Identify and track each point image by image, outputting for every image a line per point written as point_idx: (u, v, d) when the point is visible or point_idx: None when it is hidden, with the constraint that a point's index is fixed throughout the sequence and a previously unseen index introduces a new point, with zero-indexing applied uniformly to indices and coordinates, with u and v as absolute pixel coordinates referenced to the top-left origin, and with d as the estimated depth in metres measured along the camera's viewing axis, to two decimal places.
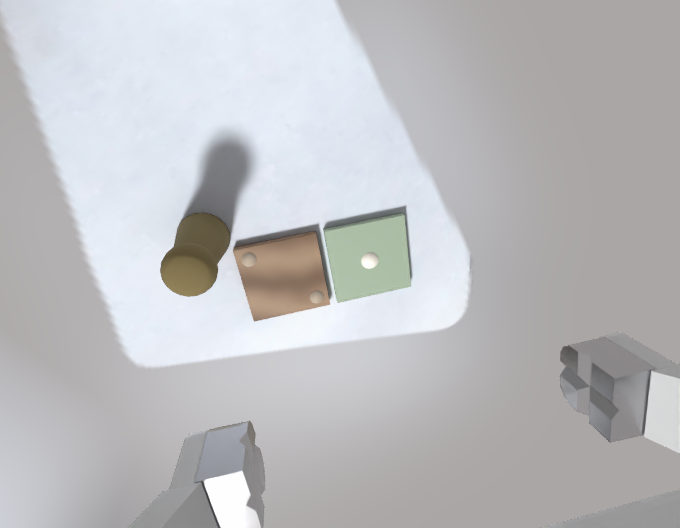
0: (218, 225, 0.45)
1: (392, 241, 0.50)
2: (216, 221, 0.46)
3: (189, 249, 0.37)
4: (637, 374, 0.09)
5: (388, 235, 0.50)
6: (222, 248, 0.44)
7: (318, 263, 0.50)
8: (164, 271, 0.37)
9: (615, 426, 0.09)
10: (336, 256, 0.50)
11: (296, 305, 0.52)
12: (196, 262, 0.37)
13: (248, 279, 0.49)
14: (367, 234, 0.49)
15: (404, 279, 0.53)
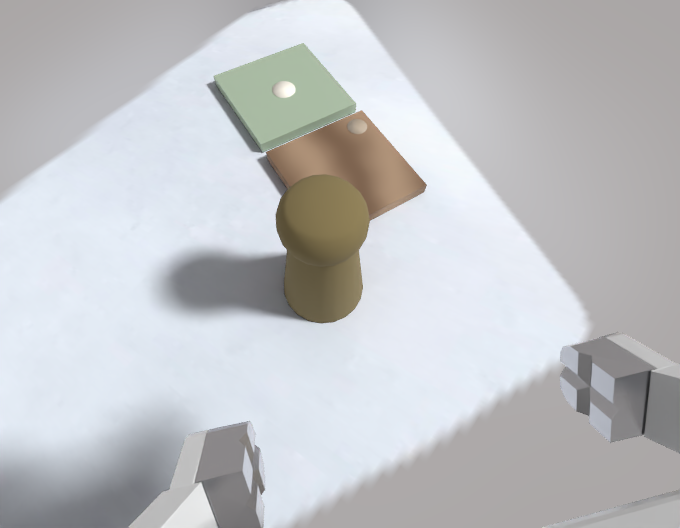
0: None
1: (250, 76, 0.39)
2: None
3: (277, 220, 0.21)
4: (637, 374, 0.09)
5: (244, 82, 0.39)
6: None
7: (307, 138, 0.36)
8: (325, 239, 0.20)
9: (615, 425, 0.09)
10: (290, 122, 0.37)
11: (379, 144, 0.36)
12: (291, 197, 0.21)
13: None
14: (249, 101, 0.38)
15: (296, 51, 0.41)
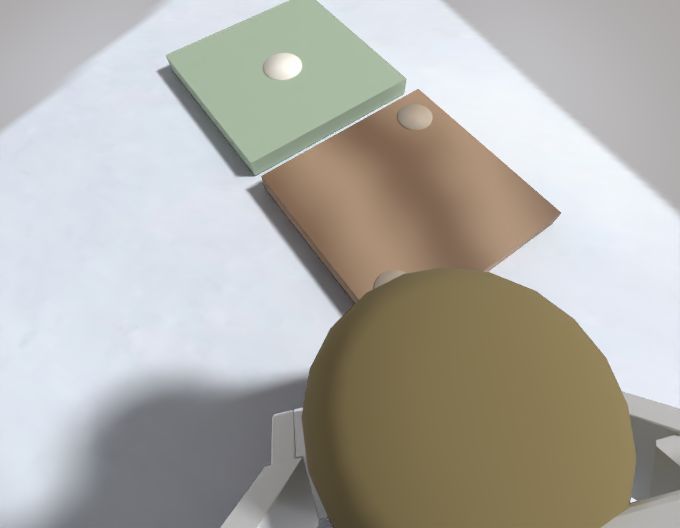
0: None
1: (226, 50, 0.24)
2: None
3: (311, 459, 0.06)
4: None
5: (216, 61, 0.23)
6: None
7: (331, 144, 0.20)
8: None
9: None
10: (299, 120, 0.21)
11: (459, 145, 0.20)
12: (357, 382, 0.06)
13: None
14: (226, 91, 0.22)
15: (297, 6, 0.25)
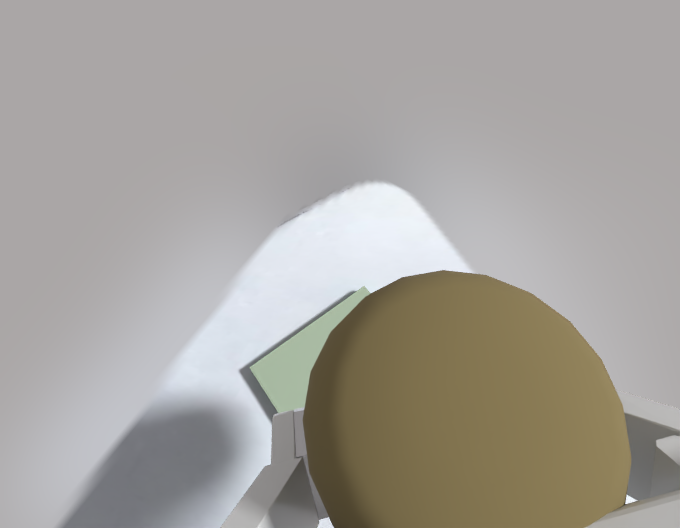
0: None
1: (301, 361, 0.28)
2: None
3: (313, 461, 0.06)
4: None
5: (293, 375, 0.27)
6: None
7: None
8: None
9: None
10: None
11: None
12: (356, 384, 0.06)
13: None
14: None
15: (357, 303, 0.29)
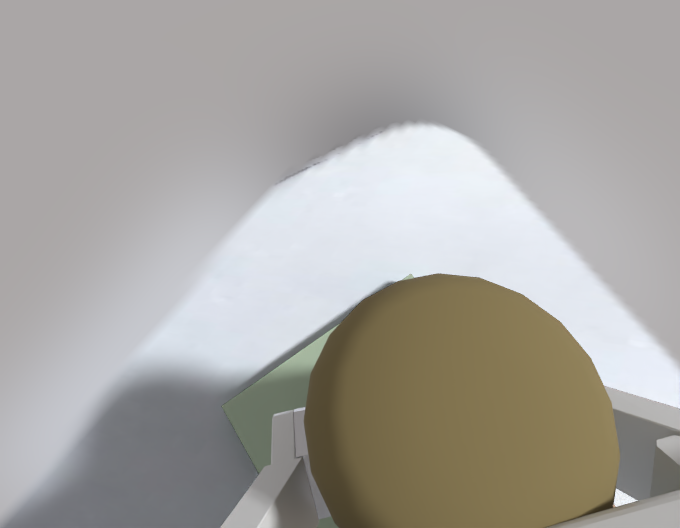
0: None
1: None
2: None
3: (313, 460, 0.06)
4: None
5: None
6: None
7: None
8: None
9: None
10: None
11: None
12: (355, 386, 0.06)
13: None
14: None
15: None
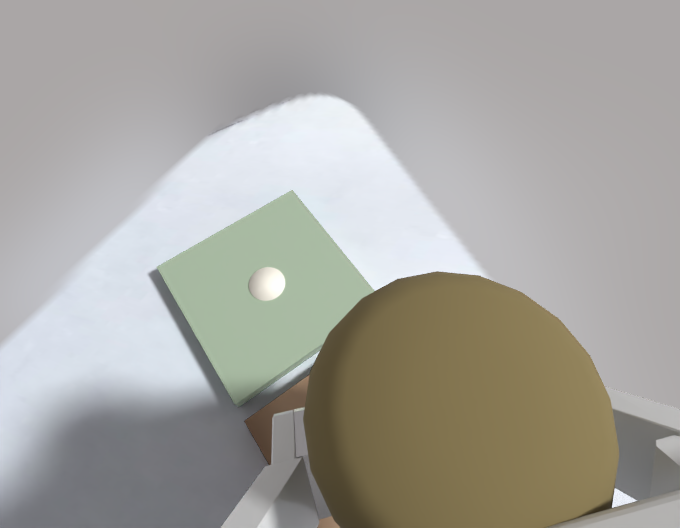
0: None
1: (214, 262, 0.25)
2: None
3: (313, 458, 0.06)
4: None
5: (204, 275, 0.25)
6: None
7: None
8: None
9: None
10: (281, 352, 0.23)
11: None
12: (355, 384, 0.06)
13: None
14: (213, 313, 0.24)
15: (282, 206, 0.27)
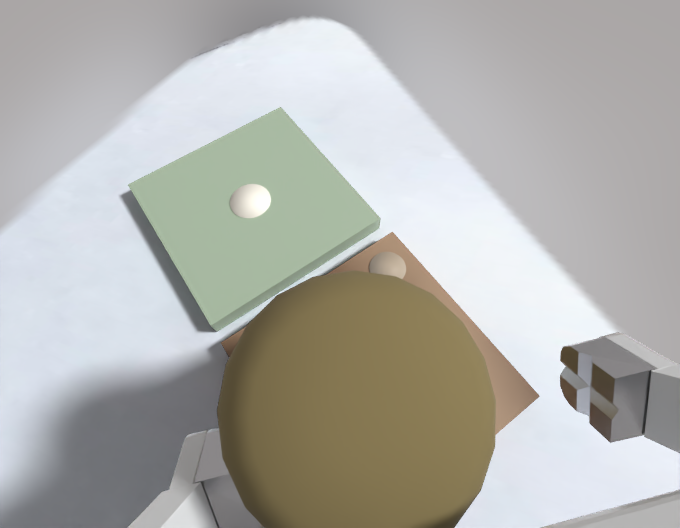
0: None
1: (192, 179, 0.22)
2: None
3: (223, 453, 0.07)
4: (637, 374, 0.09)
5: (180, 192, 0.22)
6: None
7: None
8: None
9: (615, 426, 0.09)
10: (265, 271, 0.20)
11: None
12: (262, 392, 0.06)
13: None
14: (189, 231, 0.21)
15: (269, 123, 0.24)
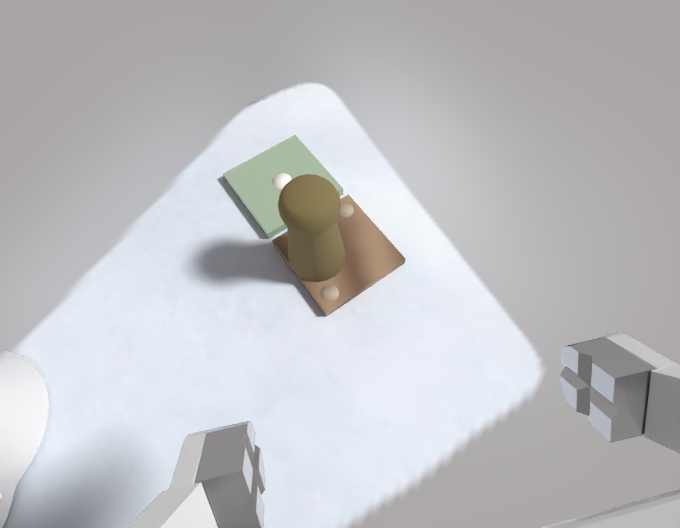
0: None
1: (253, 171, 0.47)
2: None
3: (279, 207, 0.32)
4: (637, 374, 0.09)
5: (248, 177, 0.46)
6: None
7: None
8: (312, 216, 0.31)
9: (615, 425, 0.09)
10: None
11: (364, 225, 0.43)
12: (286, 191, 0.32)
13: (354, 284, 0.40)
14: (254, 195, 0.45)
15: (289, 143, 0.48)
